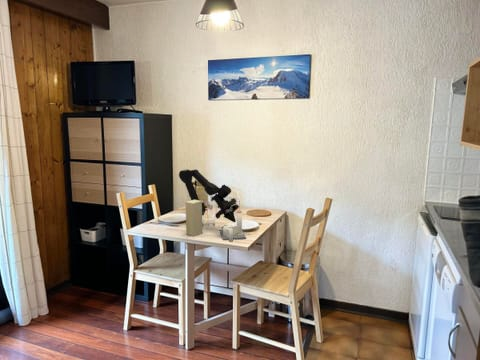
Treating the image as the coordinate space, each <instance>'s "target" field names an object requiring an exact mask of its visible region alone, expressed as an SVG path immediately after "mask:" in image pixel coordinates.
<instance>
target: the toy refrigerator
mask: <svg viewBox="0 0 480 360" xmlns="http://www.w3.org/2000/svg"><path fill="white" fill-rule="evenodd" d="M202 202H203V201H202V200H200V199H199V200H191V199H190V200H188V201H185V226H186V227H185V228H186V229H185V231H186V235H189V236H191V237H195V236H198V235H202V234H203V226H202V225H203V216H202Z"/></svg>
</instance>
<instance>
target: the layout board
mask: <svg viewBox="0 0 480 360" xmlns="http://www.w3.org/2000/svg"><path fill="white" fill-rule="evenodd" d="M219 233H220V235H221V238H222V241H229V240H228V238H227V237H225V236H223V229H219ZM234 239H235V240H245V239H247V236H246V234H245V233H244V231H243V230H242V233H240V234H238V233H237V234H233V241H234Z"/></svg>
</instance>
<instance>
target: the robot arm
mask: <svg viewBox="0 0 480 360" xmlns="http://www.w3.org/2000/svg"><path fill="white" fill-rule="evenodd" d="M178 177H179V179H180V181H182V183H184V184H185V187H186V190H187V193H188V194H189V198H190V201H191V200H199V201H200V198H199V196H198V193H197V191H196V188H195V186H194V185H195V184H194V183H193V179H195V180H196V181H197V182H198V183H199V184H200V185H201V186H202V187H203V188H204V191H205V192H206V194H207V195H208V196H210V197H211V199H210V201H211V202H215V204H216V205H217V209H219V210H218V211H217V212H216V213H215V214H214V215H215V217H216V219H220V218H221V217H222V218H225V219H227V220H229V221H231V222H232V223H234V224H235V223H237V219H236V217H235V212H237V211H238V210H239V209H240V206H239V204H237V199H236V198H235V197H233V198H230V200H229V201H228V200H227V199H226V198H227V197H228V196H229V195H230V194H231V193H232V188H230V187H229V186H228V185H226V184H222V185H221V187H219V186H218V185H216V184H215V183H213V182H210V181H209V180H208V179H207V178H206V177H204V175H203V174H201V172H199V170H198V169H196V168H195V169H184V170H183V169H182V170H180V171H179V173H178ZM206 207H207V206H205V202H203V201H202V217H203V216H204V215H205V213H206V211H207V209H206ZM222 215H223V216H222ZM202 227H203V224H202Z"/></svg>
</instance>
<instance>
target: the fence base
mask: <svg viewBox="0 0 480 360" xmlns="http://www.w3.org/2000/svg"><path fill="white" fill-rule="evenodd" d="M229 227H230V225H228V224H227V225H223V227H222V230H223V236H225V237H227V238H228V240H227V241H228V242H230V243H231V242H233V241H234V240H233V229H232V228H229Z"/></svg>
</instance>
